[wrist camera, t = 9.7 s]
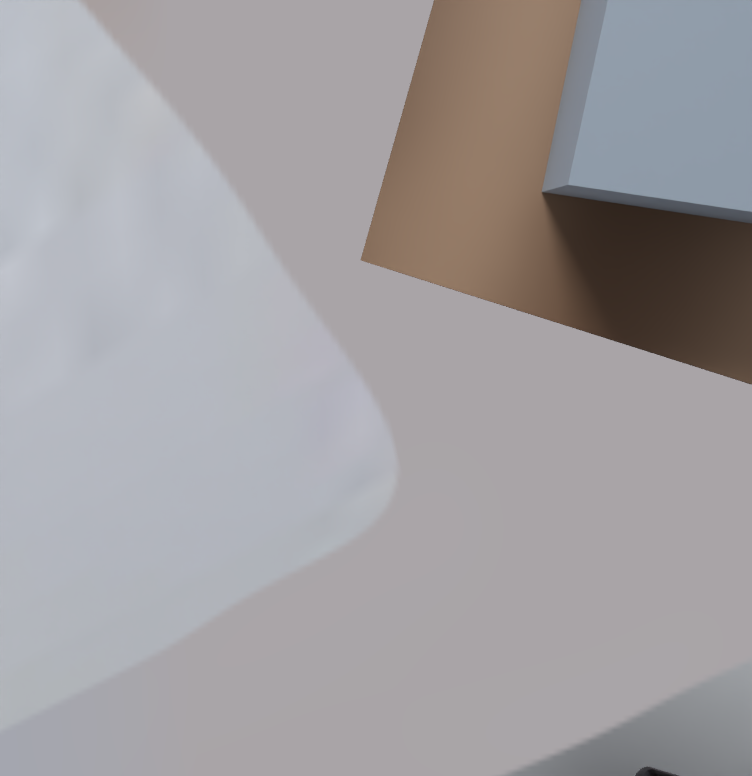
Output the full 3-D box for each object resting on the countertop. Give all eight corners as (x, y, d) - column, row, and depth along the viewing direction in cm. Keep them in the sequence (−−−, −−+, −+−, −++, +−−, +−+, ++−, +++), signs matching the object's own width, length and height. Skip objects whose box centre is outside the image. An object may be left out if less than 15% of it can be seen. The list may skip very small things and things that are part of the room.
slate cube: (890, -60, 12) (1156, -238, 7) (799, 230, 13) (970, 244, 9) (600, -90, 12) (666, -271, 8) (541, 191, 14) (567, 184, 9)
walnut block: (948, -58, 15) (1105, -149, 11) (748, 363, 18) (819, 405, 14) (511, -173, 16) (517, -295, 12) (386, 249, 19) (360, 260, 15)
